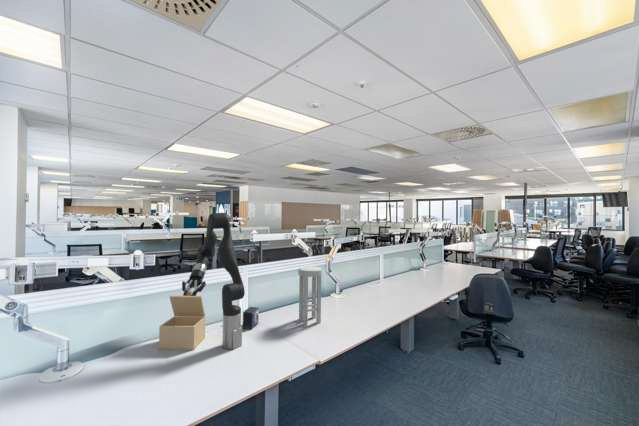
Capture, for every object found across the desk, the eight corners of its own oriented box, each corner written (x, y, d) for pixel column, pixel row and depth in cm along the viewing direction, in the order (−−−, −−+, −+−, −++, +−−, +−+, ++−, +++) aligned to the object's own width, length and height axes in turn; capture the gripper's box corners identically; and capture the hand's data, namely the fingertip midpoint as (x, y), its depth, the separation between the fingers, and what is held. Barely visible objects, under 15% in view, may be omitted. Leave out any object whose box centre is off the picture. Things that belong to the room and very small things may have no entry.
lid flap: (174, 316, 157) (180, 307, 164) (204, 316, 157) (209, 308, 164) (169, 296, 152) (175, 288, 158) (200, 297, 152) (205, 288, 158)
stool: (324, 323, 181) (325, 269, 181) (302, 326, 175) (302, 271, 176) (316, 315, 195) (316, 265, 196) (295, 318, 190) (295, 267, 190)
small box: (251, 329, 169) (252, 312, 170) (242, 328, 171) (242, 311, 171) (259, 323, 180) (259, 307, 180) (249, 322, 181) (250, 306, 181)
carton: (173, 337, 157) (173, 316, 157) (204, 338, 157) (205, 316, 157) (159, 349, 143) (159, 326, 143) (193, 349, 143) (194, 326, 143)
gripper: (184, 268, 166) (173, 293, 153) (208, 268, 166) (199, 294, 153) (188, 276, 171) (178, 301, 158) (211, 276, 171) (203, 301, 158)
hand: (188, 297), depth 156 cm, fingers closed on lid flap, 4 cm apart
